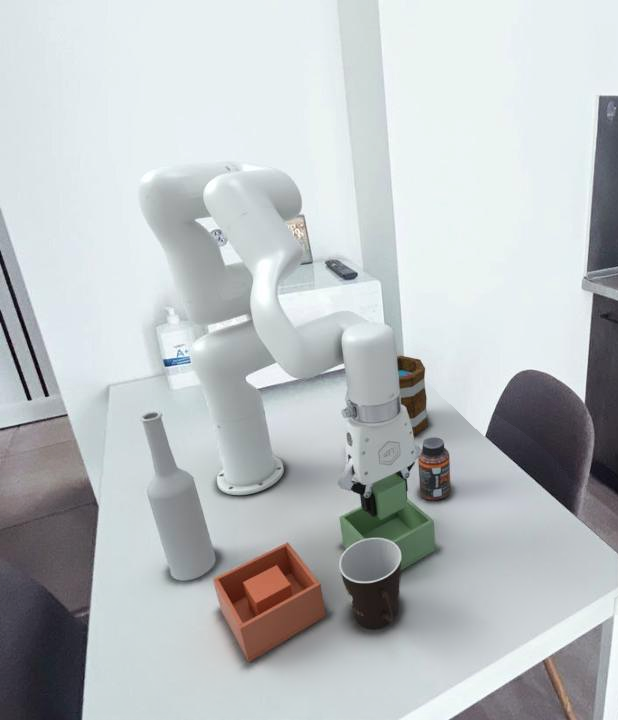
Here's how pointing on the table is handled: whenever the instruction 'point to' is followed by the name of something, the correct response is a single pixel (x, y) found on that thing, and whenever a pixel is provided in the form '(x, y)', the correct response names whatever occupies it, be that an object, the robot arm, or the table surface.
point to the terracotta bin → (279, 619)
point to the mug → (412, 391)
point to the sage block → (389, 495)
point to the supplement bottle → (434, 469)
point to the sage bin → (393, 531)
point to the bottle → (176, 508)
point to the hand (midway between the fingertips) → (385, 503)
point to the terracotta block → (267, 590)
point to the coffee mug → (372, 581)
